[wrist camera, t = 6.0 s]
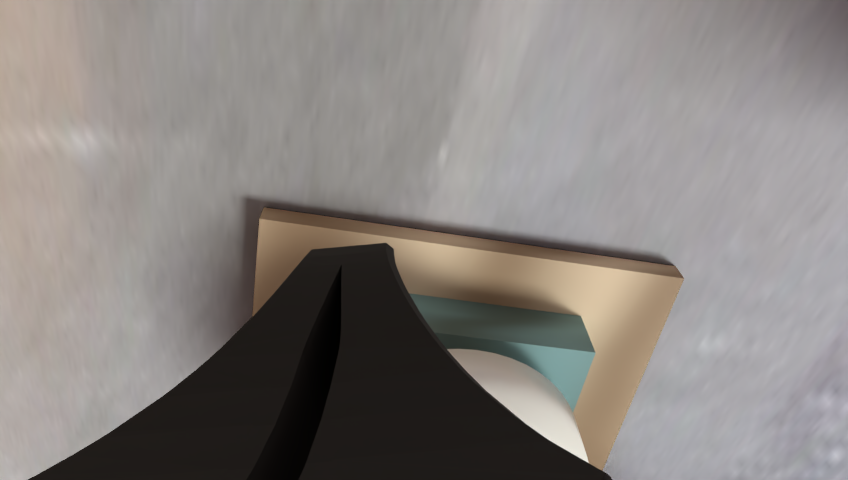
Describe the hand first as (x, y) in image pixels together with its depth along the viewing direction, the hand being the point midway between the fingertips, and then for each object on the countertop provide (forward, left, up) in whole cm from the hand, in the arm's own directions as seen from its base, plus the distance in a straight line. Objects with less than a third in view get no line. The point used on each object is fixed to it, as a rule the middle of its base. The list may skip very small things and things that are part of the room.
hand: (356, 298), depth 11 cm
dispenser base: (-4, +10, -10) cm, 15 cm away
